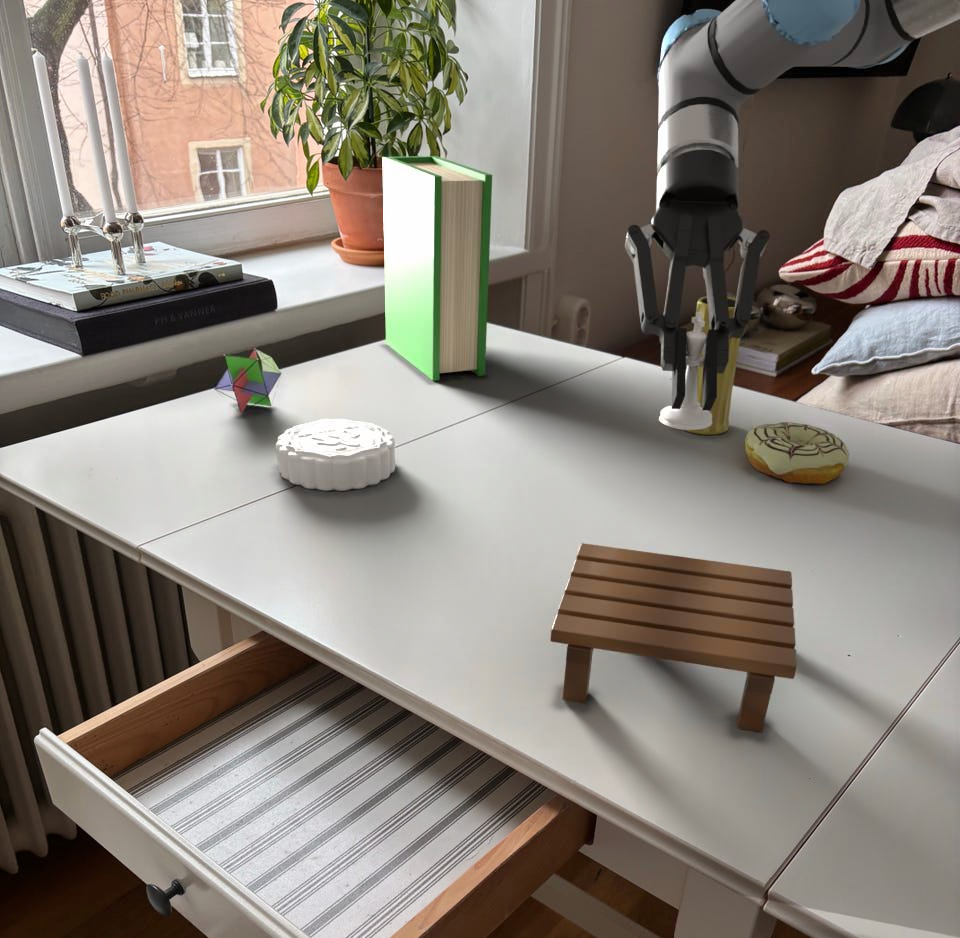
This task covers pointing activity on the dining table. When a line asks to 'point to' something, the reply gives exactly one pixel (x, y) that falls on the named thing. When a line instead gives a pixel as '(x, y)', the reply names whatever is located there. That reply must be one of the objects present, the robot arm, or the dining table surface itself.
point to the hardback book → (436, 262)
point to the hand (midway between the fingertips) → (693, 402)
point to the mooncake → (335, 454)
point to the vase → (718, 376)
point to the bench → (679, 618)
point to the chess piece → (690, 385)
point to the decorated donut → (796, 452)
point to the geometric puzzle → (249, 379)
